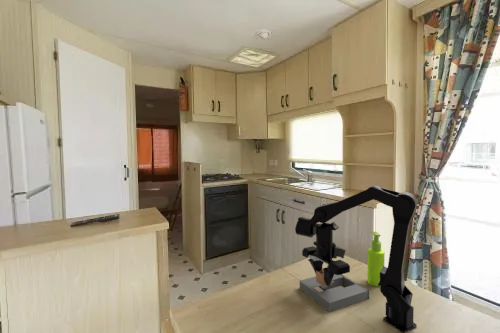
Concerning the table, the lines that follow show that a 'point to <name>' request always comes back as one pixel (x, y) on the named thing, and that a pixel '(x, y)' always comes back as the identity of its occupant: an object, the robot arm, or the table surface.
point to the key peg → (321, 279)
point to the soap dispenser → (375, 260)
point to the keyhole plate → (335, 292)
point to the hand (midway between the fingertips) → (324, 282)
